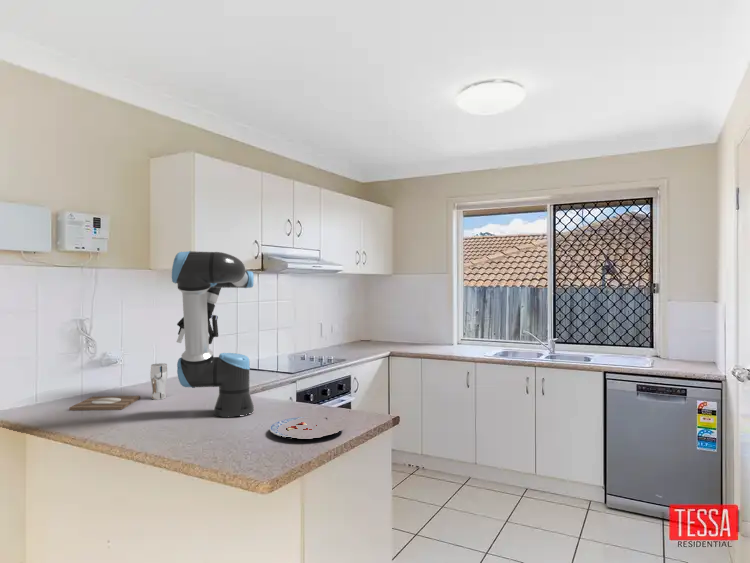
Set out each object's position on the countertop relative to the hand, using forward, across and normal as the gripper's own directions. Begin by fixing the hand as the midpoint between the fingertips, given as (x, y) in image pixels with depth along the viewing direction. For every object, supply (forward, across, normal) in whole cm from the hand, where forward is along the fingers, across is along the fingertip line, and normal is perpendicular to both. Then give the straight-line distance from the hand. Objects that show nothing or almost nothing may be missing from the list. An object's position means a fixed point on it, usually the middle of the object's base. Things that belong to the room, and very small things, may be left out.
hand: (191, 346), depth 228 cm
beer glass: (+26, +6, +1) cm, 27 cm away
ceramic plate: (+15, -74, +37) cm, 84 cm away
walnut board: (+32, +20, +15) cm, 41 cm away
